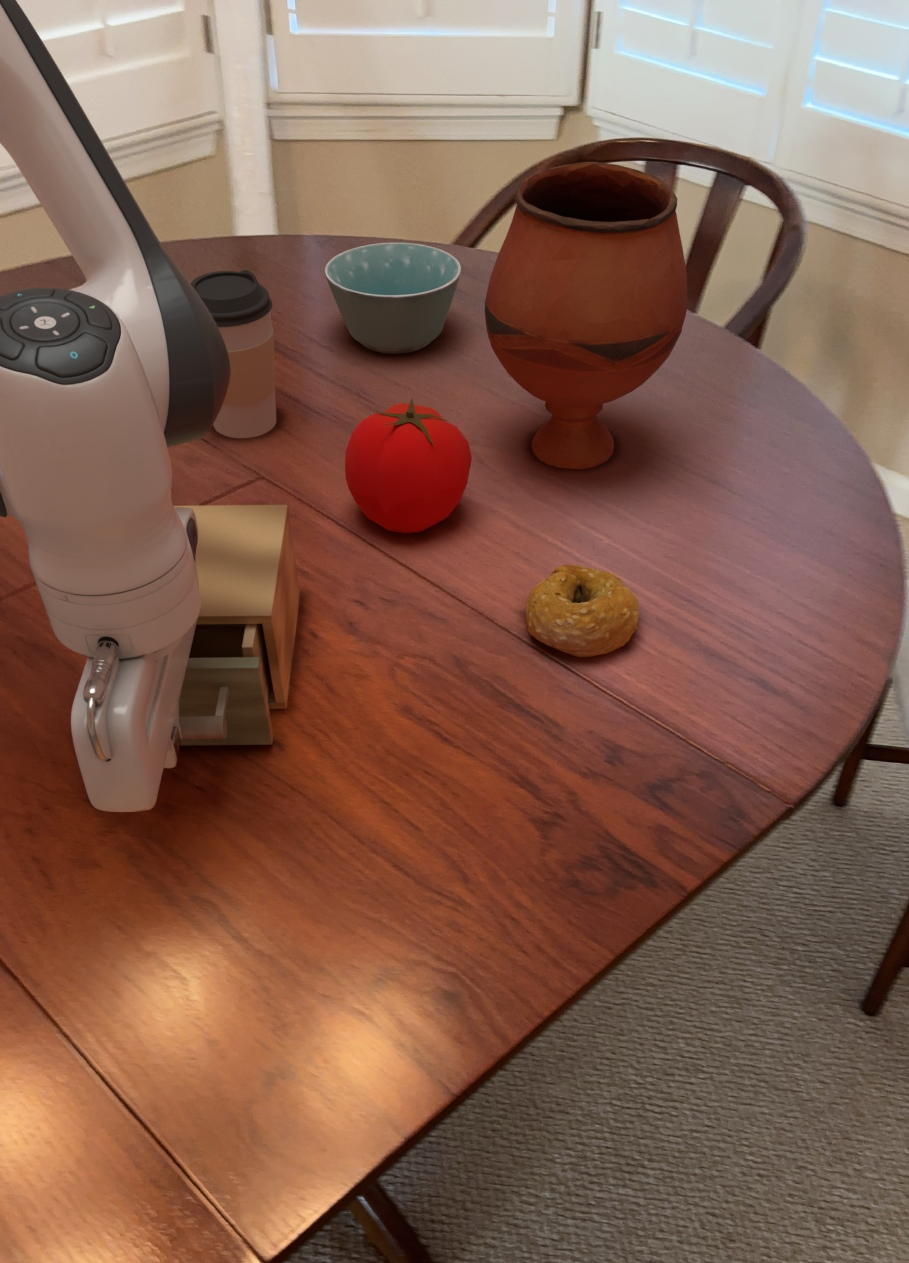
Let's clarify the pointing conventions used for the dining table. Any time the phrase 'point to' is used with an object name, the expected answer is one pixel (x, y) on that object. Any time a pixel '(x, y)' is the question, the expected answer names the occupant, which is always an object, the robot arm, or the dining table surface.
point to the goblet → (586, 298)
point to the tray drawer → (226, 687)
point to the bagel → (582, 611)
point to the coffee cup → (243, 350)
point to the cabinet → (251, 579)
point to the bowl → (393, 293)
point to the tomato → (407, 467)
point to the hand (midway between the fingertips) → (167, 753)
